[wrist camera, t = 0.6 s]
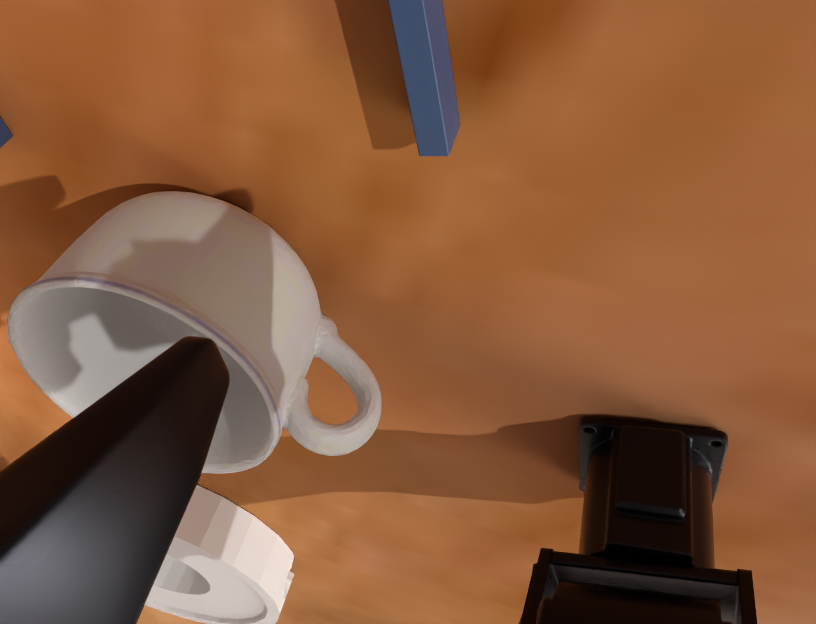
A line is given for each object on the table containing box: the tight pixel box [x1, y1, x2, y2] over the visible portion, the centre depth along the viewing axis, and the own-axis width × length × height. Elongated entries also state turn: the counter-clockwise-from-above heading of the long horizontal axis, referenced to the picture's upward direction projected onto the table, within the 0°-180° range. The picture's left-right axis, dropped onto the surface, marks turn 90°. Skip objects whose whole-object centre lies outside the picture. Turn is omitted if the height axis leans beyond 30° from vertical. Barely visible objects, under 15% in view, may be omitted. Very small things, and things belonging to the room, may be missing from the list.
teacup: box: [7, 191, 382, 474], centre depth 28 cm, size 14×11×8 cm
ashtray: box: [145, 485, 294, 624], centre depth 58 cm, size 23×23×4 cm
